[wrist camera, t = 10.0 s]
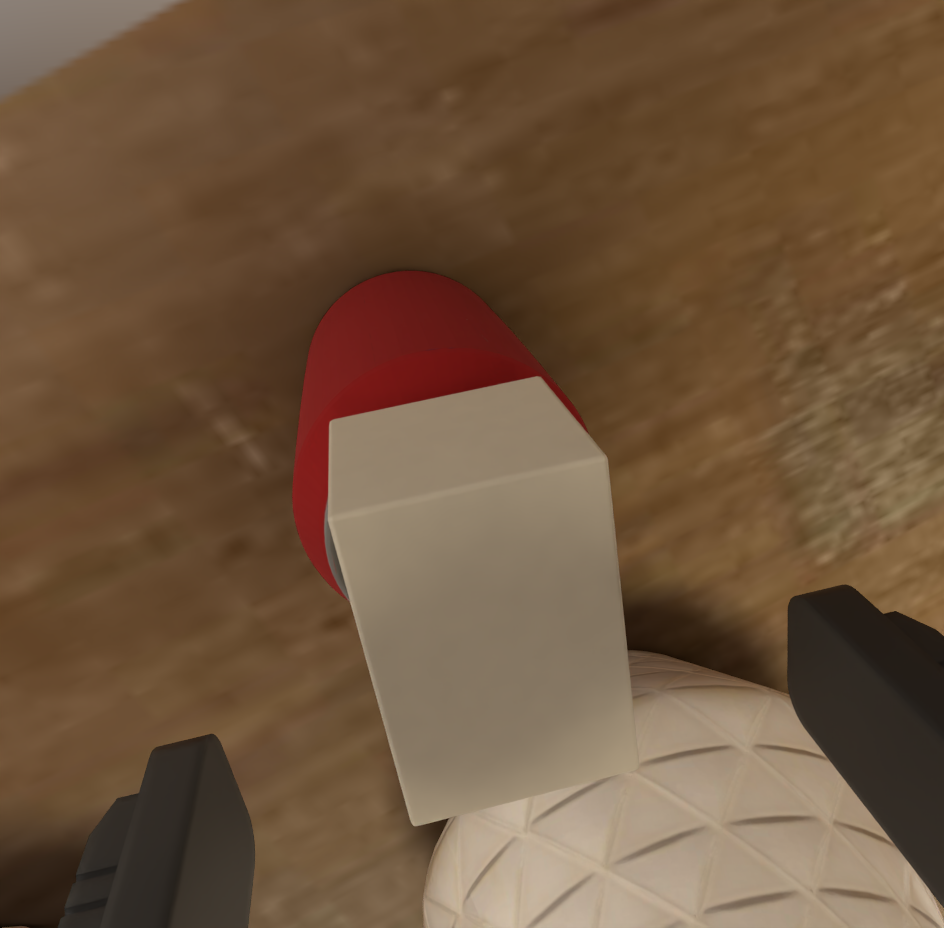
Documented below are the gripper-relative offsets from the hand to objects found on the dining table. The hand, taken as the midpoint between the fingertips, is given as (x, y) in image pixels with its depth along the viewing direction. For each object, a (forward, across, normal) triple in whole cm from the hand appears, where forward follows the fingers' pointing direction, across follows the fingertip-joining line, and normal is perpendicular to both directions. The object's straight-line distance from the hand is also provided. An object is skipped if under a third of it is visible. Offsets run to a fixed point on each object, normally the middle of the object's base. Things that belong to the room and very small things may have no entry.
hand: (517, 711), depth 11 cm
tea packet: (+5, 0, 0) cm, 5 cm away
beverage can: (+18, 0, 0) cm, 18 cm away
